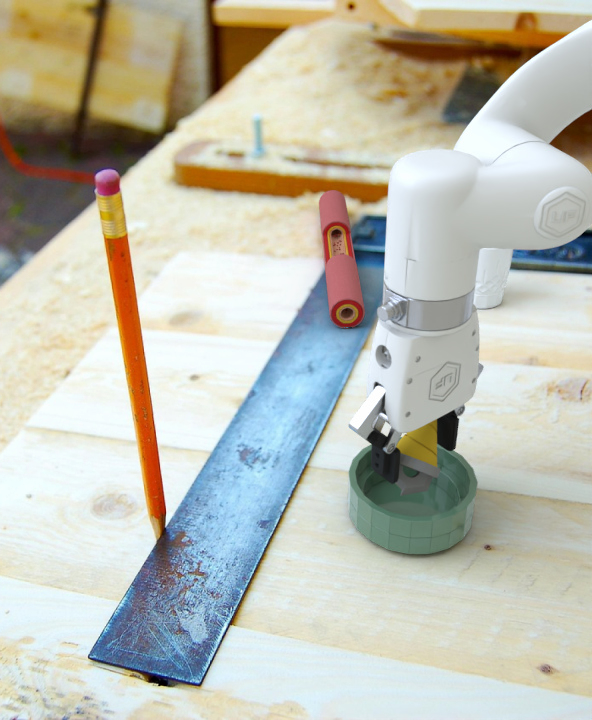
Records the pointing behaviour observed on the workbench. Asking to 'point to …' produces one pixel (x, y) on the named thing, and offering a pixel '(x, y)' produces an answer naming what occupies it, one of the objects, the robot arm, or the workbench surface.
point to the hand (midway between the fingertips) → (413, 458)
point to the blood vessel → (340, 262)
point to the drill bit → (418, 458)
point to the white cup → (491, 276)
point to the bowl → (413, 505)
